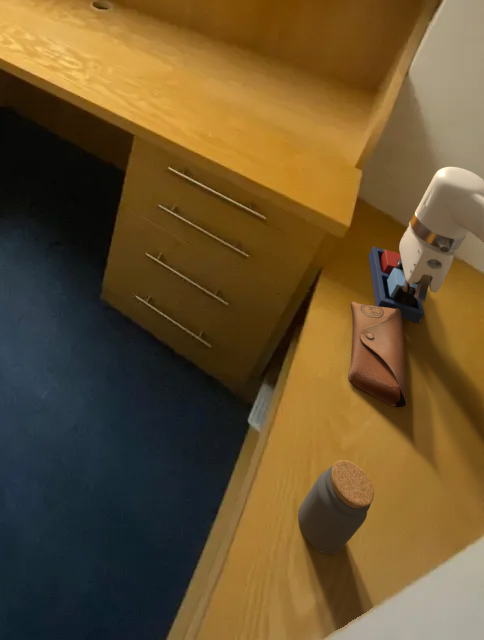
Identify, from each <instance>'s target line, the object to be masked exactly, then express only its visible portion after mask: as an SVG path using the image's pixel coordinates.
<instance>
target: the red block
mask: <svg viewBox="0 0 484 640" xmlns="http://www.w3.org/2000/svg"><path fill="white" fill-rule="evenodd" d="M384 250H385V251H384V253H383V254H382V256H381V258H380V260H379V262H380V268H381V272H383V273H387V274H391V272H392V270H393V268H395V267H396V265H397V261H398V259H399V258H400V252H395V251H393V250H392V251H391V250H389V249H384ZM397 266H399V265H397Z"/></svg>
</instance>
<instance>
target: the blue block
mask: <svg viewBox="0 0 484 640" xmlns="http://www.w3.org/2000/svg"><path fill="white" fill-rule="evenodd" d="M405 279H406V278H405V274H404V271H403V270H400V269H397V268H393V270H392V272H391V274H390V276H389V278H388V279H387V283H388V288H389V294H390V297H391V298H394V296H395V294H396V292H397V290H398V288H399V287H400V286H403V284H404V282H405ZM417 286H418V285H417V284H414V283H413V284H412V285H410V287H414V288H417Z"/></svg>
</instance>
